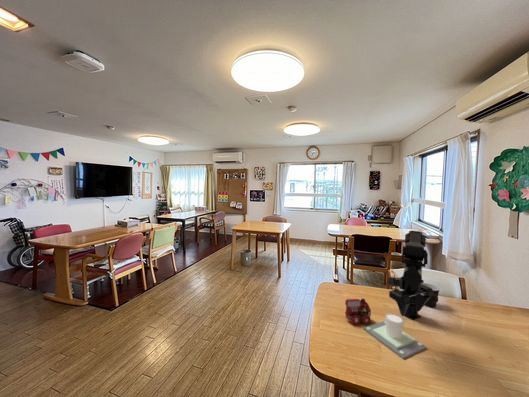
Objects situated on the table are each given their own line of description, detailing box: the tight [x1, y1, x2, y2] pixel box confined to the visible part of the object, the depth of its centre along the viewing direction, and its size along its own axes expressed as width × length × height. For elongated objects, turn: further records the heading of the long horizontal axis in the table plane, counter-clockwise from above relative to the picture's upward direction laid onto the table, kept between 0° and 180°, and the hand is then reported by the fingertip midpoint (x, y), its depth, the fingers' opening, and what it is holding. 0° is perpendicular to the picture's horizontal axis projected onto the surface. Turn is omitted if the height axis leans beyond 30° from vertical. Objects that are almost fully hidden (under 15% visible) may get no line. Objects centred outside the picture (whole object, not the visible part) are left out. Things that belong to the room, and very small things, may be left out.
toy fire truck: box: [344, 298, 372, 326], centre depth 104 cm, size 7×12×10 cm, turn 96°
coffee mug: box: [421, 282, 440, 309], centre depth 118 cm, size 12×9×10 cm
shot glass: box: [384, 313, 405, 339], centre depth 92 cm, size 7×7×7 cm
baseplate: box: [363, 320, 427, 360], centre depth 92 cm, size 14×18×2 cm
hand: (410, 313), depth 89 cm, fingers open, 9 cm apart
